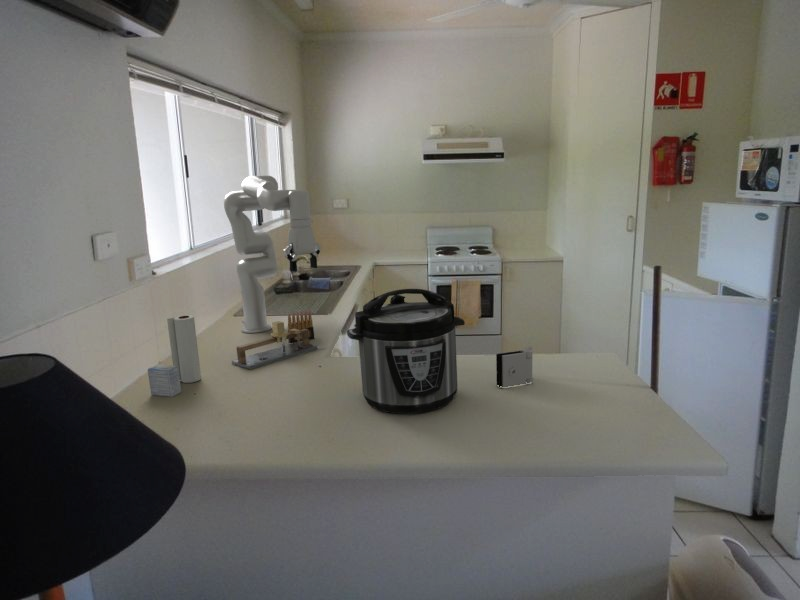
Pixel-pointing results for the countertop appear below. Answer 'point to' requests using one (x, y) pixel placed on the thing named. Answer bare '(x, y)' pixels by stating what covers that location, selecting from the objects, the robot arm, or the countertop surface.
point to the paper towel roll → (184, 347)
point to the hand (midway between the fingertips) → (304, 269)
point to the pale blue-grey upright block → (164, 380)
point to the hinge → (514, 367)
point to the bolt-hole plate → (274, 355)
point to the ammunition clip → (300, 325)
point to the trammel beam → (293, 333)
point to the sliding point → (279, 333)
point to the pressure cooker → (407, 352)
